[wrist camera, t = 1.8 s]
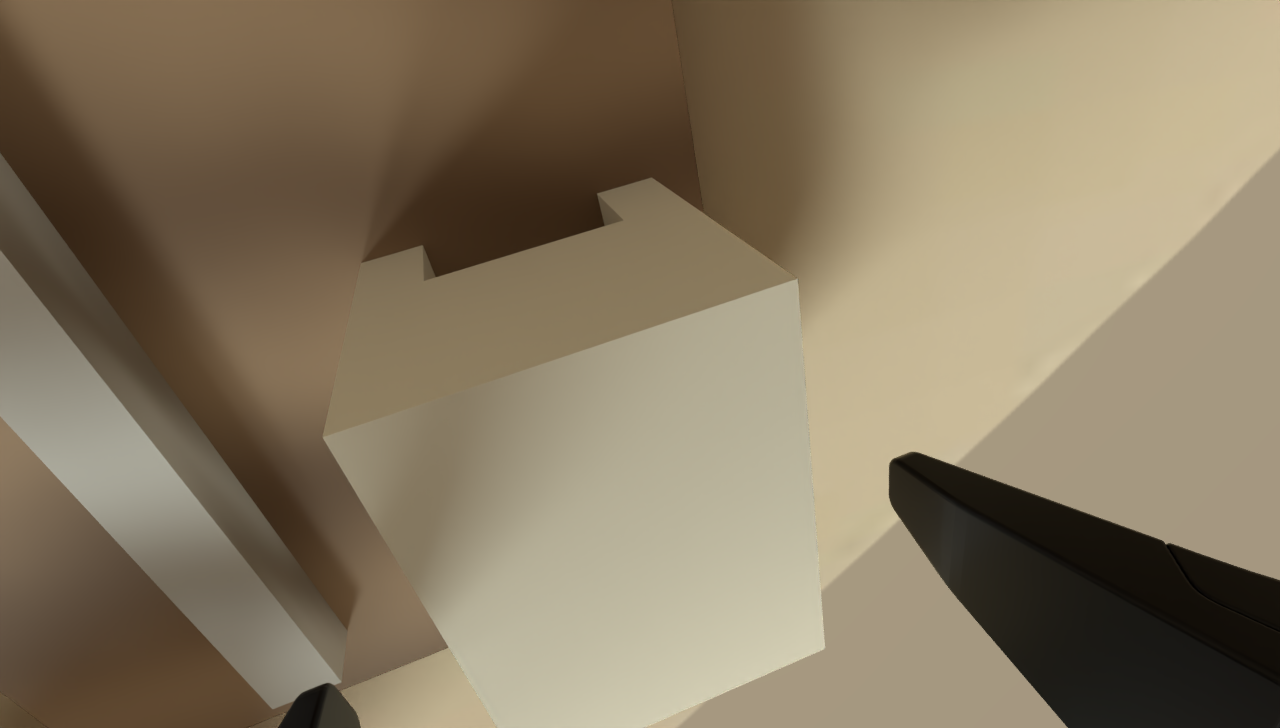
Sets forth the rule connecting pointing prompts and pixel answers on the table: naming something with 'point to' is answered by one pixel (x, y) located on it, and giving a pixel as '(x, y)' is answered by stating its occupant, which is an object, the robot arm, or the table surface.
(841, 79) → the table surface
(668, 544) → the notched block
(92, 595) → the cleat board
